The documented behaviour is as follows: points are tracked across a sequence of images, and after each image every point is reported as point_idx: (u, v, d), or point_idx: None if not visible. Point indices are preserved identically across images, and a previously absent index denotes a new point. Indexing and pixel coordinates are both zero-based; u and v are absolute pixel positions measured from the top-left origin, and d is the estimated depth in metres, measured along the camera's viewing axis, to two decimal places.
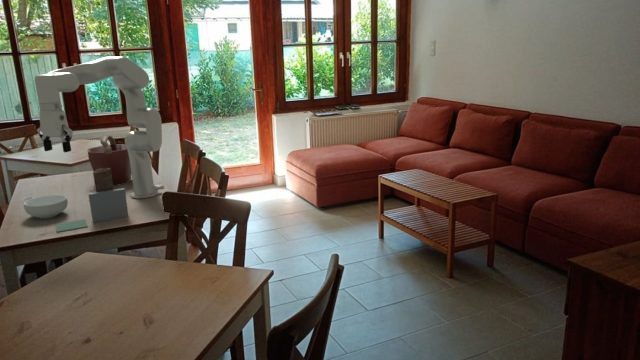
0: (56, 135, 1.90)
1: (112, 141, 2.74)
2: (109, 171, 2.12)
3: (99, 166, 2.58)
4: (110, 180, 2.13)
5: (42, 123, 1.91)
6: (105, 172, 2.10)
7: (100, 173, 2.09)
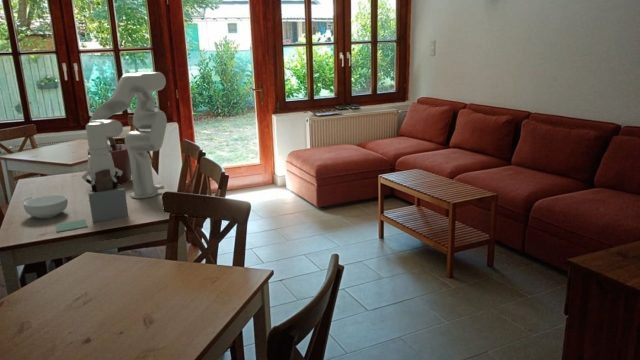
0: None
1: (112, 141, 2.74)
2: (109, 171, 2.12)
3: None
4: (110, 180, 2.13)
5: (94, 167, 2.09)
6: (105, 172, 2.10)
7: (100, 173, 2.09)
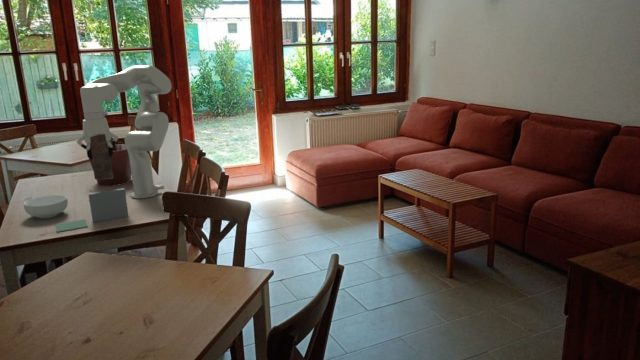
0: (106, 140, 2.09)
1: None
2: (105, 136, 2.08)
3: None
4: (106, 145, 2.09)
5: (89, 131, 2.05)
6: (100, 137, 2.06)
7: (95, 138, 2.05)
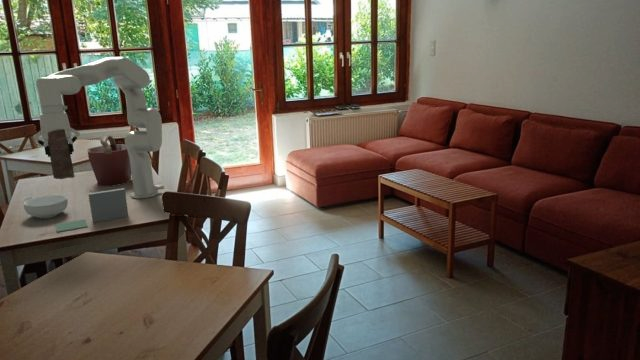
0: None
1: (112, 141, 2.74)
2: (64, 131, 1.92)
3: (99, 166, 2.58)
4: (65, 141, 1.93)
5: (46, 126, 1.89)
6: (59, 132, 1.90)
7: (53, 133, 1.89)
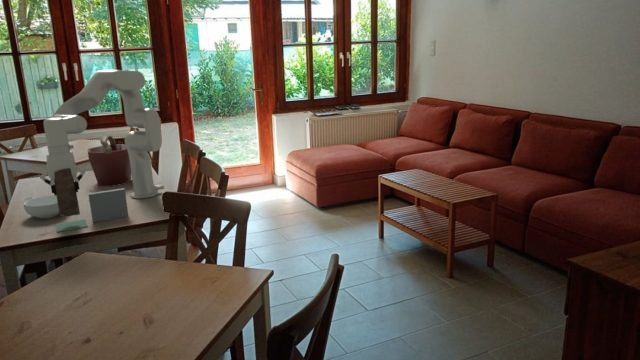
0: None
1: (112, 141, 2.74)
2: (70, 170, 1.96)
3: (99, 166, 2.58)
4: (71, 180, 1.97)
5: (53, 166, 1.93)
6: (65, 171, 1.94)
7: (60, 172, 1.93)
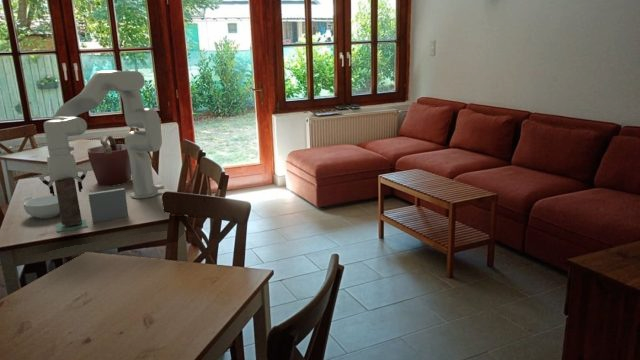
0: (72, 177, 1.98)
1: (112, 141, 2.74)
2: (72, 180, 1.97)
3: (99, 166, 2.58)
4: (73, 189, 1.98)
5: (54, 168, 1.93)
6: (68, 181, 1.95)
7: (62, 182, 1.95)
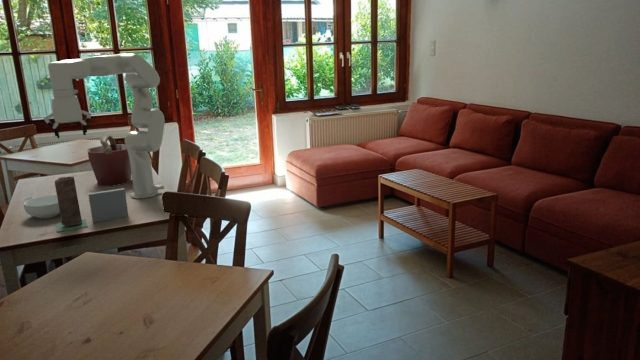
0: (77, 119, 2.00)
1: (112, 141, 2.74)
2: (72, 180, 1.97)
3: (99, 166, 2.58)
4: (73, 189, 1.98)
5: (58, 110, 1.95)
6: (67, 181, 1.96)
7: (62, 182, 1.95)
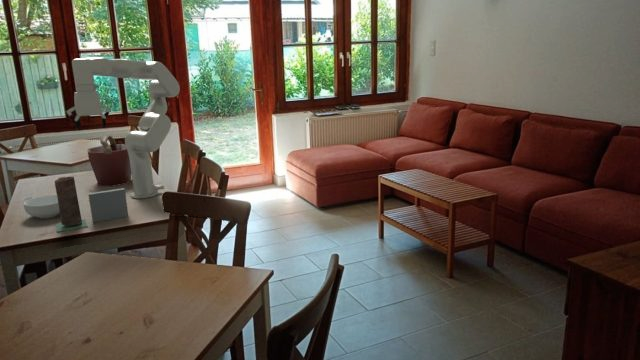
0: (97, 113, 2.12)
1: (112, 141, 2.74)
2: (72, 180, 1.97)
3: (99, 166, 2.58)
4: (73, 189, 1.98)
5: (80, 103, 2.08)
6: (67, 181, 1.96)
7: (62, 182, 1.95)
